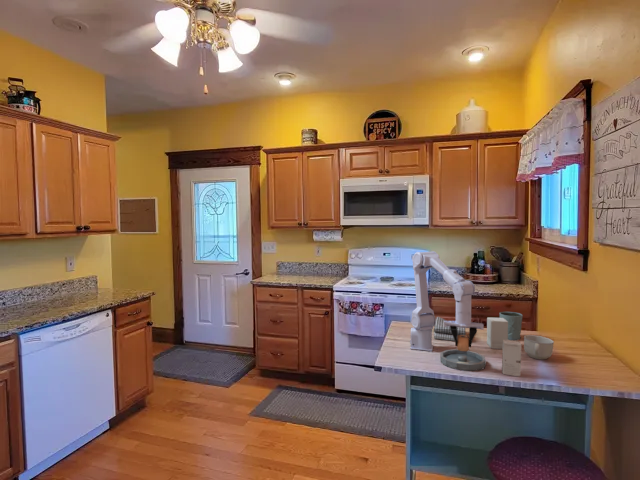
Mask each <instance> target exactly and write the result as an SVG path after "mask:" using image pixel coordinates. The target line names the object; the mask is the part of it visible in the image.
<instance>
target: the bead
mask: <svg viewBox="0 0 640 480" xmlns="http://www.w3.org/2000/svg"><path fill="white" fill-rule="evenodd" d="M456 349H458V350H460V351H470V347H469V336H468V335H466V334H465V335H458V336H457V346H456Z"/></svg>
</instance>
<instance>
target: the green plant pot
mask: <svg viewBox="0 0 640 480" xmlns="http://www.w3.org/2000/svg"><path fill="white" fill-rule="evenodd" d="M499 318H504V319H505V320H506V321H508V340H512V341H519V340H521V333H522V322H523V314H522V313H520V312H515V311H500V312H499Z"/></svg>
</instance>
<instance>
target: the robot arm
mask: <svg viewBox="0 0 640 480" xmlns="http://www.w3.org/2000/svg"><path fill="white" fill-rule="evenodd" d="M411 260H412V268H413V269H412V270H413V274H414V288H415V301H416V308H415V309H413V310H412V311H411V315H412V316H411V325H412V327H411V328H410V342H409V344H410V349H411V350H416V351H417V350H418V351H426V352H427V351H429V352H433V350H434V349H433V348H434V345H433V333H432V332H433V330H434V326H435V324H436V318H437V317H436V316H435V313H434V309H432V308H431V307H430V303H429V291H428V279H427V272H428V270H430V269H431V268H433V269H435V270H436V271H437V272H439V274H441V275H442V279H443V280H444V282H445V283H446V284H448V285H449V286H450V288H451V289H452V293H453V295H454V300H455V320H447V321H444V327H450V330H451V332H452V334H453V337H454V340H455V341H454V343H455V347H457V327H460V328H465V329H469V331H468V332H469V336H468V337H469V348H472V343H473V341H474V338H475V336H476V335H477V333H478V330H483V331H484V323H480V322H472V296H473V295H474V293H475V291H476V287H475V285H474V283H473V281H472V280H466V279H465V278H464V277H463V276H461V275H460V274H459V272H458V271H457V270H456V269H450V268H449V267H448V266H447V265H446V264H445V263H444V262H443V261H442V259H440V254H438V253H437V252H436V251H416V252H415V253H414V254H413V256H412V258H411Z"/></svg>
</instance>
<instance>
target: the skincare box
mask: <svg viewBox="0 0 640 480" xmlns="http://www.w3.org/2000/svg"><path fill="white" fill-rule="evenodd" d="M501 354H502V355H501V357H502V358H501V359H502V360H501V372H502V374H503V375H505V376H506V375H508V376H515V377H521V364H522V343H521V341H519V340H515V341H514V340H503V349H502V353H501Z"/></svg>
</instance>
